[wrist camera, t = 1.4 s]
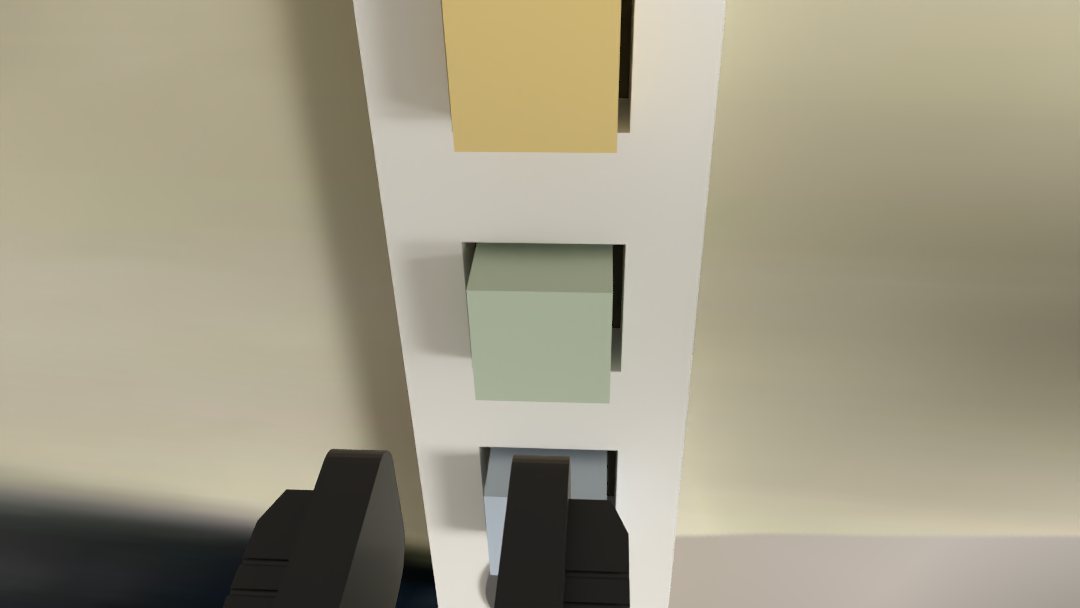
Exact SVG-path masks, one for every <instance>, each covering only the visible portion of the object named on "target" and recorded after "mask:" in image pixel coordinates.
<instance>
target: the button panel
mask: <svg viewBox="0 0 1080 608" xmlns="http://www.w3.org/2000/svg"><path fill="white" fill-rule="evenodd" d="M353 5H354V12H355V20H356V27H357V34H358V41H359V48H360V55H361V62H362V69H363V76H364V83H365V90H366V97H367V105H368V112H369V119H370V126H371V133H372V140H373V147H374V154H375V161H376V168H377V175H378V182H379V190H380V197H381V204H382V211H383V218H384V225H385V232H386V239H387V246H388V253H389V260H390V267H391V275H392V282H393V289H394V296H395V303H396V310H397V317H398V324H399V331H400V338H401V345H402V352H403V360H404V367H405V374H406V381H407V388H408V395H409V402H410V409H411V416H412V423H413V430H414V437H415V445H416V452H417V459H418V466H419V473H420V480H421V487H422V494H423V501H424V508H425V515H426V522H427V530H428V537H429V544H430V551H431V558H432V565H433V572H434V579H435V586H436V593H437V600H438V607H439V608H494V603H495V595H496V587H497V579H498V575H490V564H489V552H488V541H487V529H486V517H485V505H484V492H485V485H486V478H487V472H488V465H489V458H490V447H512V448H547V449H582V450H616V466H615V494H614V496H607V500H611V501H612V503H613V505H614V507H615V509H616V511H617V513H618V514H619V516H620V518H621V520H622V522H623V524H624V526H625V528H626V530H627V532H628V534H629V580H630V608H668V607H669V596H670V586H671V575H672V563H673V554H674V544H675V533H676V523H677V512H678V502H679V491H680V481H681V471H682V460H683V450H684V439H685V429H686V418H687V408H688V397H689V387H690V376H691V366H692V355H693V345H694V334H695V324H696V313H697V303H698V292H699V282H700V272H701V261H702V251H703V240H704V230H705V219H706V209H707V198H708V188H709V177H710V167H711V156H712V146H713V135H714V125H715V114H716V104H717V93H718V83H719V73H720V62H721V52H722V41H723V31H724V20H725V10H726V0H632V20H631V47H630V75H629V98H618V130H617V153H555V152H454V140H453V128H452V116H451V105H450V93H449V81H448V69H447V58H446V46H445V34H444V22H443V10H442V0H353ZM474 242H487V243H557V244H623V271H622V299H621V327H620V328H612V337H611V372H610V404H607V403H568V402H528V401H489V400H476V399H475V387H474V376H473V364H472V352H471V340H470V329H469V317H468V305H467V293H466V289H467V285H468V281H469V276H470V272H471V267H472V263H473V258H474V254H475V247H474Z"/></svg>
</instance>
